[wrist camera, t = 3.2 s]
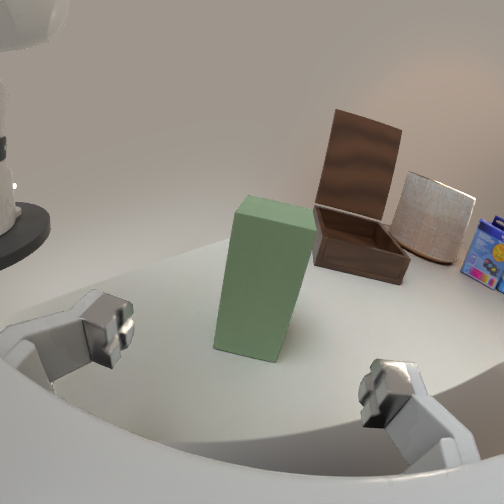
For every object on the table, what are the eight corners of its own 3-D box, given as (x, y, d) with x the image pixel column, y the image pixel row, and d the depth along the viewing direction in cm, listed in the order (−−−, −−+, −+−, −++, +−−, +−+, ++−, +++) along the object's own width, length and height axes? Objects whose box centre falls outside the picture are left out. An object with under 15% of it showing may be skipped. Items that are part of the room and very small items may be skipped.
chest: (400, 285, 38) (411, 259, 37) (314, 265, 39) (322, 236, 37) (373, 242, 55) (380, 222, 53) (308, 225, 55) (314, 204, 54)
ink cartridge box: (459, 272, 50) (483, 209, 44) (461, 266, 54) (482, 208, 48) (494, 291, 44) (520, 228, 38) (493, 284, 48) (517, 226, 42)
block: (212, 348, 22) (234, 211, 17) (226, 312, 26) (247, 194, 22) (275, 363, 21) (317, 230, 17) (279, 325, 26) (312, 209, 21)
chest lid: (402, 130, 46) (394, 132, 50) (335, 108, 47) (332, 112, 51) (381, 220, 52) (375, 216, 56) (315, 202, 53) (313, 199, 57)
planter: (461, 274, 49) (487, 204, 42) (390, 247, 54) (413, 172, 47) (444, 248, 64) (463, 193, 58) (386, 226, 69) (403, 168, 63)
